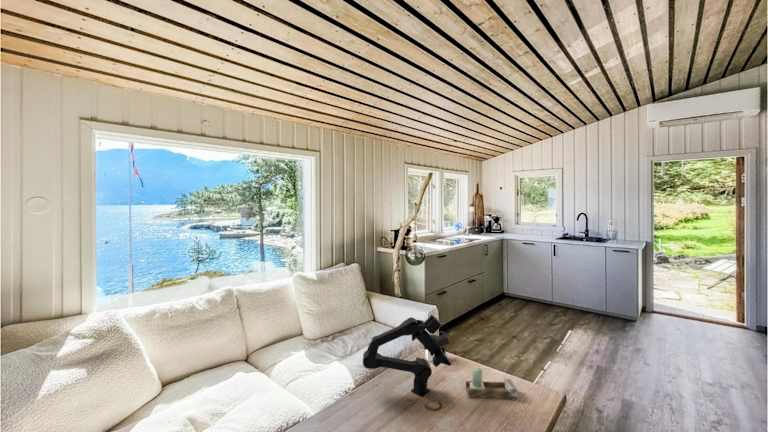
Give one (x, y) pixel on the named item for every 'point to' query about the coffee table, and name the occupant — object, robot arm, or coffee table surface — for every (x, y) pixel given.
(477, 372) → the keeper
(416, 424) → the coffee table surface
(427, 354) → the jar
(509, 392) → the brown wooden open box
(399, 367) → the robot arm
